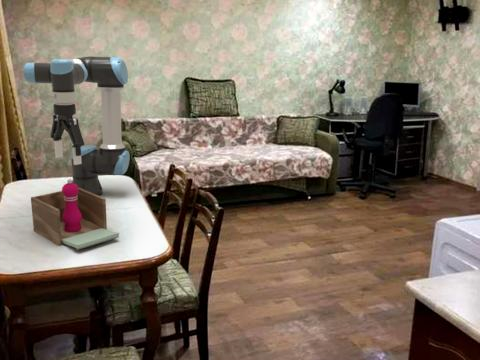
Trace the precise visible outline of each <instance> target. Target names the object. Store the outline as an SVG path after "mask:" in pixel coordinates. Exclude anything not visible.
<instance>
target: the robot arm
mask: <svg viewBox="0 0 480 360" xmlns="http://www.w3.org/2000/svg"><path fill="white" fill-rule="evenodd" d="M22 70H23V71H22V72H23V73H22V74H23V77H24V80H25V81H26V82H28V83H33V84H51V88H52V89H51V90H52V94H51V97H52V101H53V117H52V119H53V120H52V126H51V130H50V131H51V132H50V138H51V139H52V140H53V144H54V156H55V159H61V158H64V150H63V148H64V147H63V138H62V136H63V134H64V131H65V132H67V133H68V136H69V139H70V140H71V143H72V150H71V153H70V155H71V156H70V157H71V158H70V160H71V171H72V172H71V173H72V179H71V180H72V183H74V184H76V185H77V186H78V187H79V188H81V189H84V190H86V191H88V192H91V193H93V194H95V195H98V196H100V197H101V196H102V194H103V193H104V192H103V186H102V184H101V181H100V179H99V175H111V176H112V175H113V176H122V175H124V174H126V172H127V171H128V168H129V164H130V160H131V159H130V157H131V156H130V152H129V150H126V146H125V144H123V142H122V140H123V139H122V112H121V111H122V105H121V104H122V103H121V102H122V101H121V99H122V96H121V95H122V94H121V92H122V90H124V85H126V84H127V83H128V79H129V73H128V72H129V71H128V67H127V64H126V62H125V60H124V59H123V58H120V57H114V56H83V57H77V58H70V59H61V58H60V59H59V58H58V59H52V60H51V61H50V62H34V61H33V62H26V63H25V64H24V66H23V69H22ZM84 82H85V83H92V84H93V83H94V84H96V85H97V89H98V90H99V91H100V93H101V95H100V97H101V98H100V99H101V101H100V102H101V122H102V124H101V128H102V132H101V133H102V144H101V145H100V146H99V148H98V147H97V146H96V145H93V144H91V145H89V144H88V145H85V142H84V138H83V135H82V132H81V129H80V128H81V127H80V126H79V119H78V118H74V117H73V116H74V115H76V113H77V110H76V109H77V107H76V104H75V103H76V93H75V85H80V84H82V83H84Z"/></svg>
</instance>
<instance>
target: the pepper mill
mask: <svg viewBox="0 0 480 360" xmlns="http://www.w3.org/2000/svg"><path fill="white" fill-rule="evenodd" d="M72 180H73V179H71V178H70V179H69V178H68V179H67V183H65V184H64V185H63V186H62V189H61V191H62V193H63V194H64V195H65V196H64V200H65V202H66V207H65V210H64V213H63V217H62V220H63V222H64V223H65V225H64V229H65V231H68V232H74V231H78V230H80V229H81V223H80V222H81V220H82V215H81V212H80V211H79V209H78V206H77V199H78V195H77V193H78V191H79V188H78V186H77V185H76V184H74V183H72Z"/></svg>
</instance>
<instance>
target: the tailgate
mask: <svg viewBox="0 0 480 360" xmlns="http://www.w3.org/2000/svg"><path fill="white" fill-rule="evenodd" d="M119 237H120V232H118V231H117V232H116V231H114V230H109V229H108V228H107V229H103V228H100V229H97V230H93V231H90V232H86V233H83V234H79V235H76V236H72V237H69V238H65V239H62V244H63V245H67V246H69V247H72V248H75V249H76V251H79V250H82V249H85V248H89V247H92V246H96V245H99V244H101V243H104V242H108V241H110V240H114V239H117V238H119Z"/></svg>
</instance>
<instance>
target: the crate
mask: <svg viewBox="0 0 480 360" xmlns="http://www.w3.org/2000/svg"><path fill="white" fill-rule="evenodd" d="M78 188H79V187H78ZM77 195H78V199H77V206H78V209H79V211H80V212H81V215H82V220H81V222H80V223H81V229H80V230H78V231H74V232H68V231H65V229H64V225H65V223H64V222H63V220H62V217H63V213H64V210H65V207H66V202H65V200H64V196H65V195H64V194H63V193H62V190H59V191H56V192H55V191H54V192H51V193H46V194H41V195H36V196H31V197H30V201H31V202H30V203H31V214H32V225H33V227H32V228H33V231H34V232H35V233H37V234H39V235H41V236H42V237H43V238H46V239H47V240H48V241H50V242H52V243H53V244H55V245H57V246H58V247H60V246H63V243H62V239H65V238H69V237H72V236H76V235H79V234H83V233H86V232H90V231H93V230H97V229H100V228H103V229H107V230H108V222H107V204H106V202H107V201H106V200H107V199H106V198H104V197H102V196H101V195H100V196H98V195H95V194H93V193H91V192H88V191H86V190H84V189H81V188H79V191H78V193H77Z"/></svg>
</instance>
